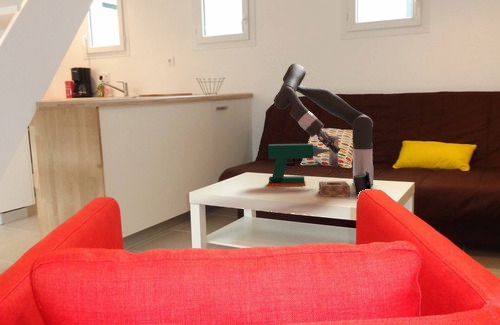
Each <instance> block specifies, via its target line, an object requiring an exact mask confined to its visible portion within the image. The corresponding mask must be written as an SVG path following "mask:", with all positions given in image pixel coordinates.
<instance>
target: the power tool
mask: <svg viewBox="0 0 500 325" xmlns="http://www.w3.org/2000/svg"><path fill="white" fill-rule="evenodd" d="M267 148H268V151H267V152H268V154H267V155H268V160H275V164H274V167H273V172H272V176H271V175H270V176H269V177H268V183H267V187H306V181H305V176H303V175H301V176H299V175H298V176H297V175H295V176H294V175H293V176H290V175H289V176H284V175H285V172H286V168H287V167H296V159H314V157H318V155H320V154H324V153H329V149H327V148H322V147H318V145H317V144H316V145H314V144H313V143H278V144H277V143H275V144H273V143H272V144H270V143H269V144H268V146H267ZM288 159H289V160H290V159H292V162H288Z"/></svg>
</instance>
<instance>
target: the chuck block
mask: <svg viewBox="0 0 500 325" xmlns="http://www.w3.org/2000/svg"><path fill="white" fill-rule="evenodd" d="M318 192H319V194H320V197H324V198H326V197H329V198H331V197H351V196H350V195H351V194H350V193H351V188H350V184H349V183H348V181H346V180H341V181H340V180H338V181H336V180H334V181H332V180H331V181H327V180H326V181H318Z"/></svg>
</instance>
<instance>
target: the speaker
mask: <svg viewBox="0 0 500 325" xmlns="http://www.w3.org/2000/svg"><path fill="white" fill-rule="evenodd" d="M353 178H354V190H355V195H356V196H359V195H358V194H359V192H360V191H362V190H365V189H371V190H372V186H371V185H372V184H370V177H369V172H367V171H366V174H361V175H356V176H354V177H353V176H352V179H353Z"/></svg>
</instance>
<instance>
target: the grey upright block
mask: <svg viewBox="0 0 500 325" xmlns="http://www.w3.org/2000/svg"><path fill="white" fill-rule="evenodd" d="M329 138H330V139H331V140H330V141H331V142H332V143H333V145H335V146H336V147H337V148H338V147H339V135H329ZM328 150H329V152H328V166H331V167H337V166H339V152H338V153H337V154H335V153H334V152H333V151H332V150H331V149H330V148H328Z"/></svg>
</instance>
